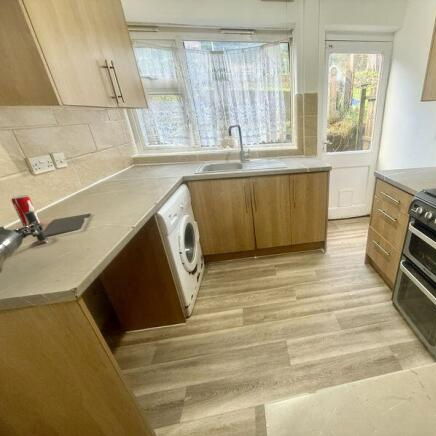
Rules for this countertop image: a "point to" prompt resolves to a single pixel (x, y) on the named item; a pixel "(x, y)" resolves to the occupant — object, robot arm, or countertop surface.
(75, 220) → the tablet
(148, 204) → the countertop surface
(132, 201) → the countertop surface
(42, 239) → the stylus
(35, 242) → the dock
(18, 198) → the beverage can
